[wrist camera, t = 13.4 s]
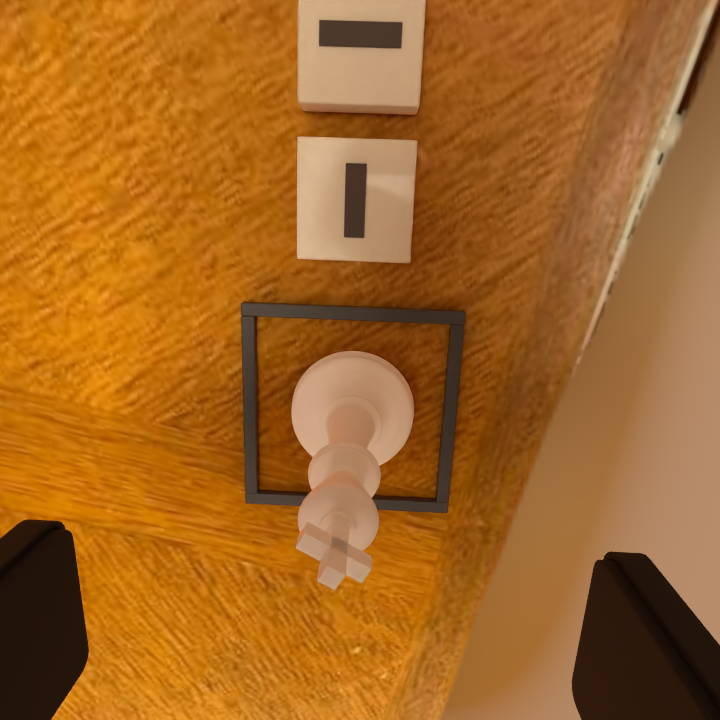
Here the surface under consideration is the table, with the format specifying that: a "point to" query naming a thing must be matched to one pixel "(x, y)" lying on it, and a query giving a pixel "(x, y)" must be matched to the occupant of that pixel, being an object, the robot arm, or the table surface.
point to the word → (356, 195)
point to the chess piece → (347, 455)
